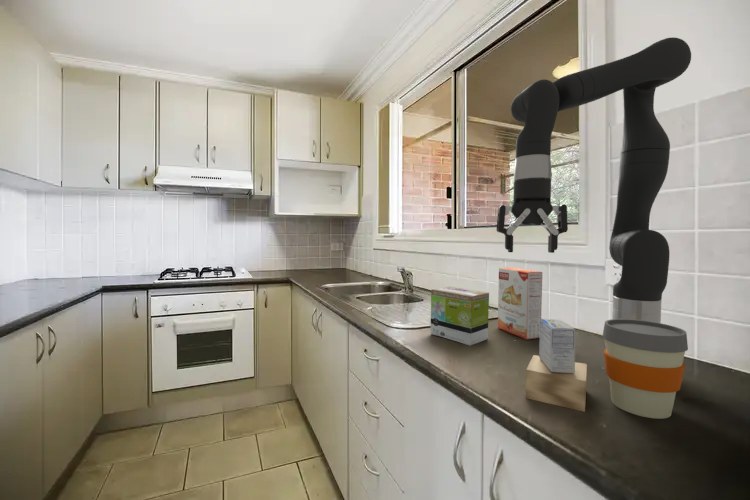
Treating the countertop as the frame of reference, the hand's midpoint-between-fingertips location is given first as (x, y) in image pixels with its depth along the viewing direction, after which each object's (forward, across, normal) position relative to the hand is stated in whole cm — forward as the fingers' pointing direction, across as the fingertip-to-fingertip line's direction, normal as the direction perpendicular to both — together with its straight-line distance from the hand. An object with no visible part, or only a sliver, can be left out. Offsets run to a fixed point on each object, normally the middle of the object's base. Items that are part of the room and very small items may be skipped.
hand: (530, 252), depth 78 cm
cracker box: (+28, -6, -37) cm, 47 cm away
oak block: (+28, -4, +8) cm, 30 cm away
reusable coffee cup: (+28, -17, +10) cm, 35 cm away
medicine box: (+23, -3, +8) cm, 24 cm away
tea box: (+28, +14, -28) cm, 42 cm away
